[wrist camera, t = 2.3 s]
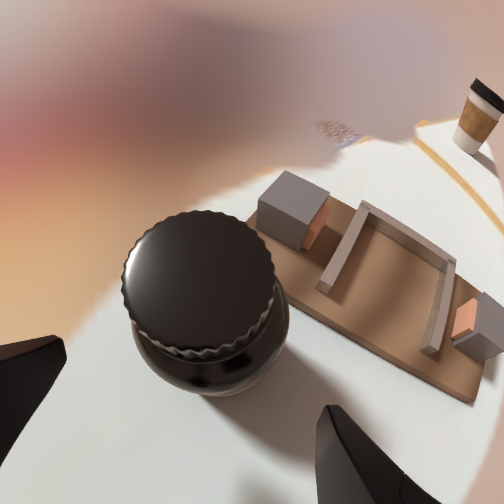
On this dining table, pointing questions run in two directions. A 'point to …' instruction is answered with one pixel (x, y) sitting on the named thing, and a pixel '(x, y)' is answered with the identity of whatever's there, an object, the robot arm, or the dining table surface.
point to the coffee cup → (478, 117)
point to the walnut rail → (379, 284)
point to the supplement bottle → (205, 303)
